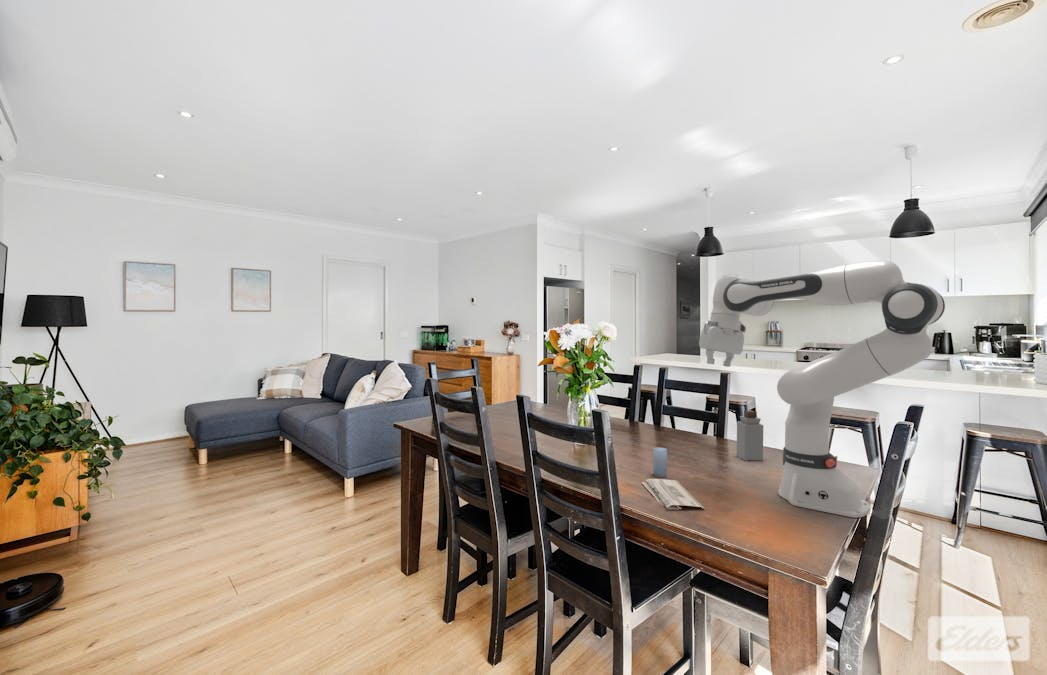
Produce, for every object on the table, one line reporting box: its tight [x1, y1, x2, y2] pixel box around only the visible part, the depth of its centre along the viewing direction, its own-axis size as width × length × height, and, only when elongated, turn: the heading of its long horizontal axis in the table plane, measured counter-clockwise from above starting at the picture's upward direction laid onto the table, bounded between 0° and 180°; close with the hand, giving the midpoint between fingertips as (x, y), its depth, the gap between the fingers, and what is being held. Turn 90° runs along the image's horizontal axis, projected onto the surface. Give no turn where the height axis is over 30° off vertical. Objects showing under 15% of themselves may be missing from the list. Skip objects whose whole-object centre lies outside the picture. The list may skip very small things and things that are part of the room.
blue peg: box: [652, 447, 668, 478], centre depth 157 cm, size 4×4×9 cm
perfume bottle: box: [736, 410, 764, 462], centre depth 175 cm, size 7×7×18 cm
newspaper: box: [641, 478, 706, 511], centre depth 138 cm, size 23×12×2 cm, turn 0°
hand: (718, 365), depth 153 cm, fingers open, 8 cm apart
